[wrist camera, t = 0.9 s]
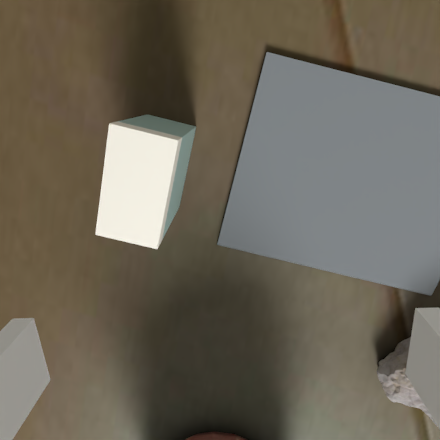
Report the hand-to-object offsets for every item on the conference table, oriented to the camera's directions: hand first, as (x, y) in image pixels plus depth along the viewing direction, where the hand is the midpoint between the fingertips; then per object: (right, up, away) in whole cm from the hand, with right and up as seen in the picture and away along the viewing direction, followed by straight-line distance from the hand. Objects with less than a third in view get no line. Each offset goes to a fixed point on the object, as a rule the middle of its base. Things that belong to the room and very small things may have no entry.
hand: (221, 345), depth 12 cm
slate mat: (+11, +7, +17) cm, 22 cm away
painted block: (-5, +9, +17) cm, 20 cm away
